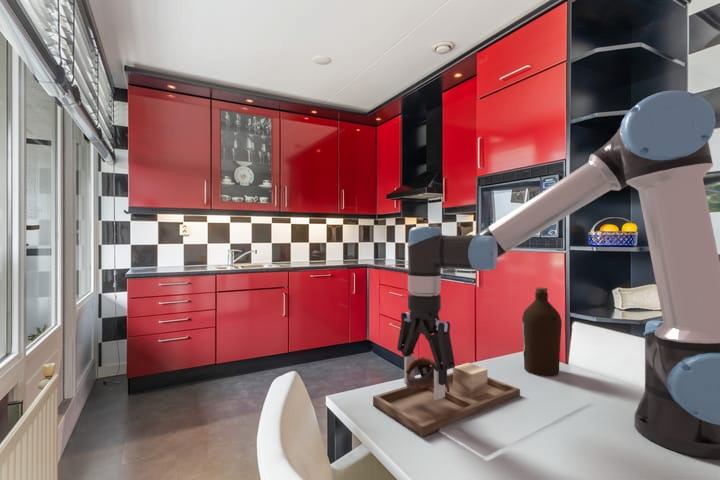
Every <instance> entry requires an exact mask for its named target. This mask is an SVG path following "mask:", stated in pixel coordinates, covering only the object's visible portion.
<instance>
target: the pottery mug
mask: <svg viewBox="0 0 720 480" xmlns="http://www.w3.org/2000/svg"><path fill="white" fill-rule="evenodd" d="M414 368H415V369H417V371H418V372H419V374H420V377H415V378H413V377H411V376H410V373H411V371H412V370H413V369H414ZM436 368H437V367H436V364H435V361H434V359H431V358H429V357H425V356H421V357H419V358H418V359H417V358H416V359H415V361H413V362H412V363H411V364H410V365H409V366H408V367H407V369H406V373H407V376H406V377H407V379H406V384H405V385H406V386H407V389H408V391H409V390H410V389H414V390H420V388H421V389H425V388H427V387H432V388H434V383H433V380H434V369H436ZM445 386H446V387H447V391H448V392H449V384H448V381H447V383H446V384H445Z"/></svg>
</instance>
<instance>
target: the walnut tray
mask: <svg viewBox="0 0 720 480" xmlns="http://www.w3.org/2000/svg"><path fill="white" fill-rule="evenodd" d="M447 381H448V384H449V392H448V391H447V387H446V386H445V397H443V398H440V399H438V400H435V399H434V388H432V387H427V388H425V389H421V388H420V390H414V389H410V390H409V391H408V389H407V385H406V386H402V387H400V388H397V389H393V390H389V391H386V392H383V393H379V394H375V395H372V406H374V407H375V408H377V410H379V411H381V412H383V413H384V414H385V415H387V416H389V417H390V418H392V419H393V420H394V421H396V422H398V423H399V424H400V425H402V426H404V427H406V429H409V430H410V431H412V432H413V433H414V434H416V435H418V436H419V437H421V438H426V437H428V436H431V435H433V434H435V433H438V432H440V431H441V430H442V429H441V428H444V427H446V426H448V425H452V424H454V423H456V422H458V421H461V420H463V419H466V418H469V417H471V416H473V415H477V414H478V413H481V412H483V411H486V410H488V409H491V408H493V407H496V406H498V405H500V404H503V403H506V402H508V401H510V400H513V399H516V398H518V397H520V396H521V389H520V388H518V387H515V386H512V385H510V384H507V383H504V382H502V381H499V380H497V379H493V377H489V376H487V393H486V394H483V395H480V396H478V397H475V398H472V399H471V398H469V397H467V396H465V395H463V394H460V393H458V392H456V391H454V390H453V372H451V373H447ZM433 383H434V380H433Z"/></svg>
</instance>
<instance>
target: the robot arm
mask: <svg viewBox="0 0 720 480" xmlns="http://www.w3.org/2000/svg"><path fill="white" fill-rule="evenodd" d="M715 127H716V114H715V111H714V109H713V107H712V105H711V104H710V103H709V102H708V101H707V100H706V99H705V98H704V97H702V96H700V95H698V94H695V93H693V92H689V91H684V90H679V89H678V90H666V91H661V92H656V93H654V94H652V95H650V96H647V97H645V98H643V99H642V100H641V101H639V102H638V103H636V104H635V106H633V107H632V108H631V109H629V110H628V112H627V113H626V114H625V115H624V117H623V118H622V121H621V123H620V127H619V128H618V130H617V132H616V133H615V134H614V135H613V136H612V137H611V139H610V140H609V141H607V142H606V143H605V144H604V145H602V147H600V148H599V149H598V150H596V151H594V152H593V153H591V154H590V155H589V158H588V161H587V162H586V163H585V164H583V165H582V166H580V167H579V168H576V169H575V170H574V171H572V172H571V173H569V174H568V175H566V176H565V177H563V178H562V179H560V180H559V181H557V182H555V183H554V184H552V185H551V186H549V187H547V188H546V189H544V191H541V192H540V193H537V195H536V196H534V197H532V198H531V199H530V200H529V199H528V201H527V202H525V203H523V204H521V205H520V206H518V207H516V208H515V209H514V210H512V211H511V212H509V213H507V214H506V215H505V216H503V217H501V218H500V219H498V220H497V221H495V222H494V223H492V224H491V225H489V226H488V227H485V228H484V229H483V230H482V231H479V232H478V233H477V234H474V235H444V234H443V233H442V229H441V228H440V227H439V226H414V227H411V228H410V229H409V232H408V243H407V260H408V261H407V262H408V263H407V265H408V269H407V273H408V274H407V291H408V292H409V294H407V309H408V310H409V311H406V312H401V315H400V316H401V317H400V318H401V324H400V328H399V333H398V335H399V336H398V341H397V347H396V350H397V351H398V352H401V356H403V357H402V358H403V363H402V364H403V365H402V366H403V368H404V370H403V371H404V374H403V375H404V378H403V379H404V382H403V383H404V385H406V379H407V377H406V376H407V373H406V369H407V367H408V366H409V365H410V364H411V363H412V362H413V361H415V360H416V355H414V354H415V352H414V350H415V348H416V345H417V343H418V340H419V339H420V335H424V337H425V339H426V340H427V342H428V344H429V347H430V350H431V353H432V357H433V361H434V363H435V364H436V367H437V368H436V369H434V399H435V400H438V399H440V398H443V397H445V384H446V383H447V374H448V370H450V369H451V370H453V368H454V367H455V366H456V364H455V357H454V352H453V346H452V345H453V344H452V341H451V340H452V339H451V333H450V331H451V329H450V328H451V324H450V321H442V320H441V319H440V317H439V312H440V311H441V309H442V308H441V307H442V304H441V303H442V298H441V297H442V296H441V295H440V293H441V287H442V285H441V284H442V283H441V280H442V277H441V276H442V269H444V270H445V269H446V270H447V269H448V270H449V269H450V270H451V269H452V270H453V269H454V270H464V271H465V270H466V271H467V270H468V271H476V272H477V271H478V272H481V271H493V270H495V268H496V267H497V263H498V258H500V257H502V256H503V255H505V254H506V253H508V252H509V251H510V250H511V251H512V249H514V248H516V247H518V246H520V245H521V244H522V243H525V242H526V241H528V240H530V239H531V238H533V237H534V236H536V235H538V234H539V233H541V232H543V231H545V230H546V229H547V228H549V227H551V226H553V225H555V224H557V222H559V221H561V220H562V219H565V218H566V217H568V216H569V215H571V214H573V213H574V212H576V211H578V210H580V209H581V208H582V207H585V206H586V205H588V204H589V203H591V202H593V201H595V200H596V199H598V198H600V197H601V196H603V195H604V194H606V193H608V192H610V191H620V190H622V189H624V188H625V187H628V186H630V187H632V188H634V189H636V190H637V191H638V195H639V202H640V206H641V211H642V216H643V223H644V228H645V232H646V233H645V234H646V238H647V242H648V243H647V244H648V248H649V253H650V258H651V263H652V264H651V265H652V268H653V274H654V275H653V276H654V281H655V285H656V290H657V291H656V292H657V295H658V296H657V297H658V300H659V305H660V312H661V317H662V320H657V319H656V320H654V319H653V320H649V321H647V322H646V324H645V331H644V332H643V336H644V393H643V394H642V395H641V399H640V401H639V402H638V405H637V407H636V410H635V412H634V419H633V420H634V424H633V426H634V428H635V429H636V430H637V432H638V433H639V434H640V435H642V436H643V437H645V438H646V439H647V440H649V441H651V442H653V443H655V444H657V445H660V446H661V447H663V448H666V449H669V450H672V451H675V452H678V453H681V454H684V455H688V456H692V457H698V458H703V459H712V460H713V459H714V460H720V257H719V254H718V253H719V252H718V248H717V243H716V238H715V233H714V228H713V223H712V218H711V212H710V209H709V203H708V198H707V194H706V189H705V188H706V187H705V184H704V177H705V175H707V173H708V172H709V171H710V170H711V169H712V168H713V166H714V164H713V159H712V153H711V148H710V147H711V146H710V143H709V141H710V139H711V138H712V136H713V133H714V130H715ZM410 376H411V377H413V378H416V377H415V376H416V367H415V368H414V369H413V370H412V371H411V373H410Z"/></svg>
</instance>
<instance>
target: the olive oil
mask: <svg viewBox="0 0 720 480" xmlns="http://www.w3.org/2000/svg"><path fill="white" fill-rule="evenodd" d="M534 294H535V295H534V296H535V299H534V301H532V303H531V304H530V305H528V306H527V307H526V308H525V310H524V311H523V313H522V318H521V323H522V325H521V326H522V340H523V341H522V342H523V362H524V363H523V366H524V370H525V371H526V372H527V373H529V374H531V375H532V374H533V375H537V376H541V377H542V376H543V377H556V376H558V375H559V374H560V361H561V360H560V358H561V356H560V355H561V353H560V352H561V341H562V339H561V338H562V337H561V336H562V326H563V325H562V323H563V322H562V317H561V314H560V313H559V311H558V310H557V309H556V308H555V307H554V306H553V305H552V304H551V302H549V300H548V299H549V293H548V288H546V287H540V286H539V287H535V292H534Z"/></svg>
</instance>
